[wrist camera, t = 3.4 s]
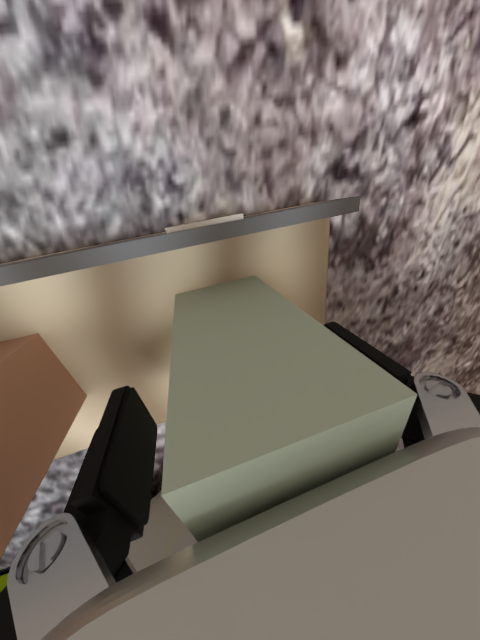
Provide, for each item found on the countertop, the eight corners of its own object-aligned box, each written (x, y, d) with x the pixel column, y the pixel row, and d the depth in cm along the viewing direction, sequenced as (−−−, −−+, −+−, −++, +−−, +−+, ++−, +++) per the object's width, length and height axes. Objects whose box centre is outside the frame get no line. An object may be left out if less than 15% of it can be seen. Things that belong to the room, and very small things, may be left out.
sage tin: (256, 274, 11) (423, 392, 4) (269, 376, 15) (363, 540, 7) (175, 294, 11) (160, 495, 3) (210, 396, 14) (245, 600, 7)
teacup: (133, 530, 22) (110, 676, 15) (127, 470, 17) (92, 638, 10) (252, 500, 26) (278, 602, 19) (272, 446, 22) (315, 553, 15)
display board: (317, 197, 12) (360, 190, 9) (314, 359, 17) (339, 385, 15) (-257, 308, 8) (-502, 356, 5) (-14, 467, 14) (-64, 531, 11)
